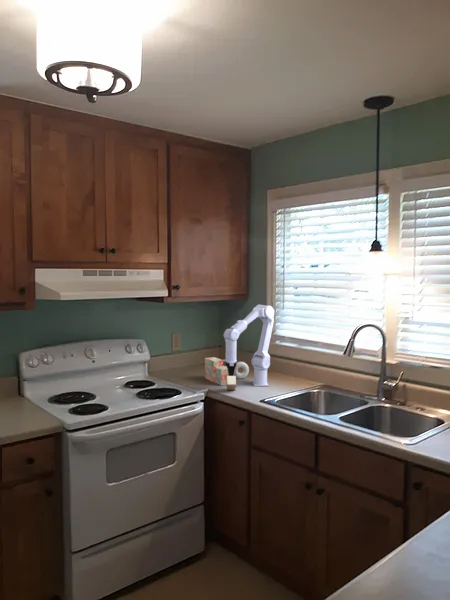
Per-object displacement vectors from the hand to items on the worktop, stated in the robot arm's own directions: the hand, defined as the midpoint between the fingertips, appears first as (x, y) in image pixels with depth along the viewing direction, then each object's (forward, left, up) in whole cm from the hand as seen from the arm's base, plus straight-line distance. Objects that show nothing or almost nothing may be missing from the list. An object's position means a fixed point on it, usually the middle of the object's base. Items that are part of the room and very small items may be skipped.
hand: (230, 376), depth 270 cm
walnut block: (-1, 0, -5) cm, 5 cm away
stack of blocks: (-20, -7, -7) cm, 22 cm away
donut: (-26, +7, -7) cm, 28 cm away
